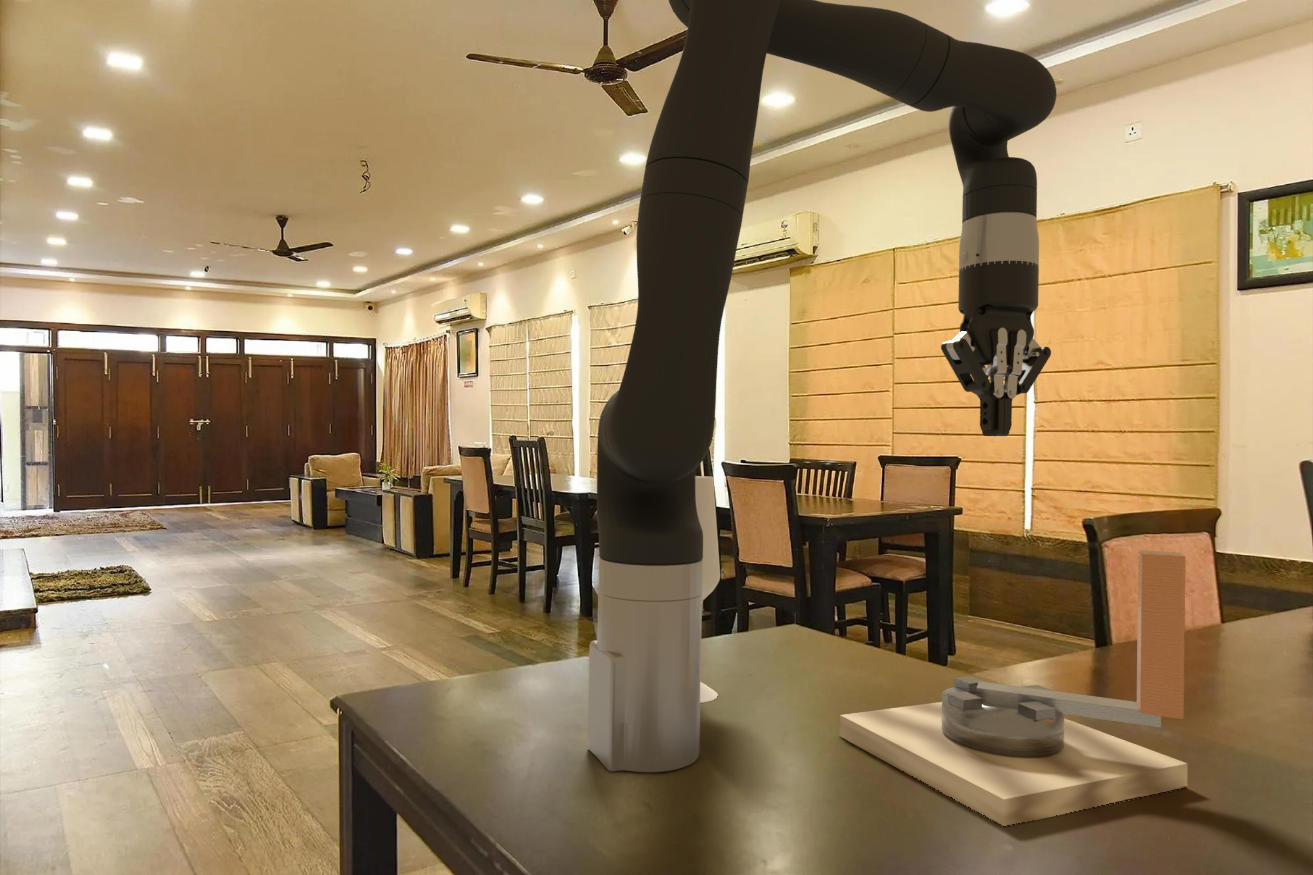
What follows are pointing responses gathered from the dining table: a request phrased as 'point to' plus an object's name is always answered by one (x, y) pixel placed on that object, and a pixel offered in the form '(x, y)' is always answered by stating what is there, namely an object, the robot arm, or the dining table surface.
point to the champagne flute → (708, 550)
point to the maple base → (1013, 766)
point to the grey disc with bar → (1037, 713)
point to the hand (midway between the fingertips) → (995, 435)
